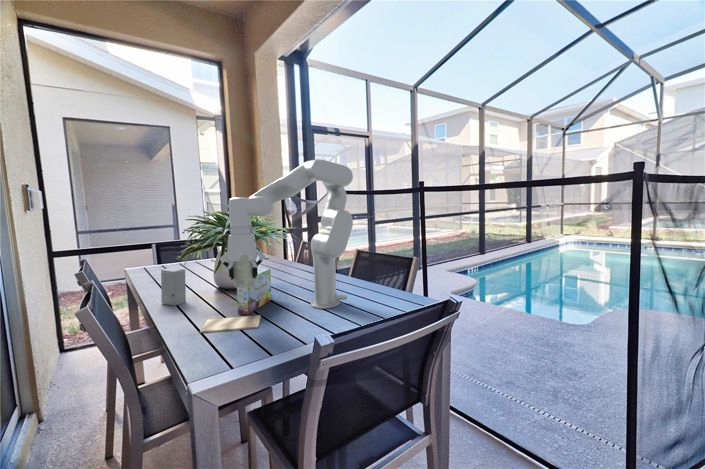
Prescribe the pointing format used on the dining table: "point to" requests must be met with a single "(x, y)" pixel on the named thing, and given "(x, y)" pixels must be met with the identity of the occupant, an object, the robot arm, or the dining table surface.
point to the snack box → (255, 293)
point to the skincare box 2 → (243, 273)
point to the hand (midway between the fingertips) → (243, 277)
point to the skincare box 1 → (173, 286)
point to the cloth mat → (231, 324)
